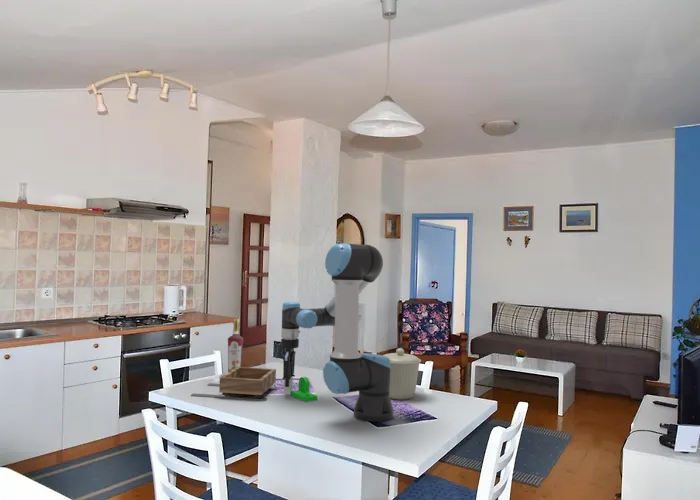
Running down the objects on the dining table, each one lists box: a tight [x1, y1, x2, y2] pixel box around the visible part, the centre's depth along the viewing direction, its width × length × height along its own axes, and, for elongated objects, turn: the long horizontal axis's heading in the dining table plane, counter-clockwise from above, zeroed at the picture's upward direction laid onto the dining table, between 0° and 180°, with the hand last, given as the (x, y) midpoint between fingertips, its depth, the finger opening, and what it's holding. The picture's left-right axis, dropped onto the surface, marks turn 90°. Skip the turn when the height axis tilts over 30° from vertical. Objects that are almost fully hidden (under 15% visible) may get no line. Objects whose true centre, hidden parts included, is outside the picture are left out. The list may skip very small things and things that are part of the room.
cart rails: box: [190, 382, 279, 402], centre depth 225 cm, size 20×32×1 cm, turn 84°
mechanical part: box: [290, 376, 318, 402], centre depth 220 cm, size 12×6×8 cm, turn 36°
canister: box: [382, 347, 422, 401], centre depth 226 cm, size 18×18×21 cm
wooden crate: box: [218, 366, 277, 398], centre depth 225 cm, size 22×18×8 cm
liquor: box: [227, 318, 244, 373], centre depth 252 cm, size 7×7×28 cm
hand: (288, 393), depth 223 cm, fingers open, 3 cm apart
